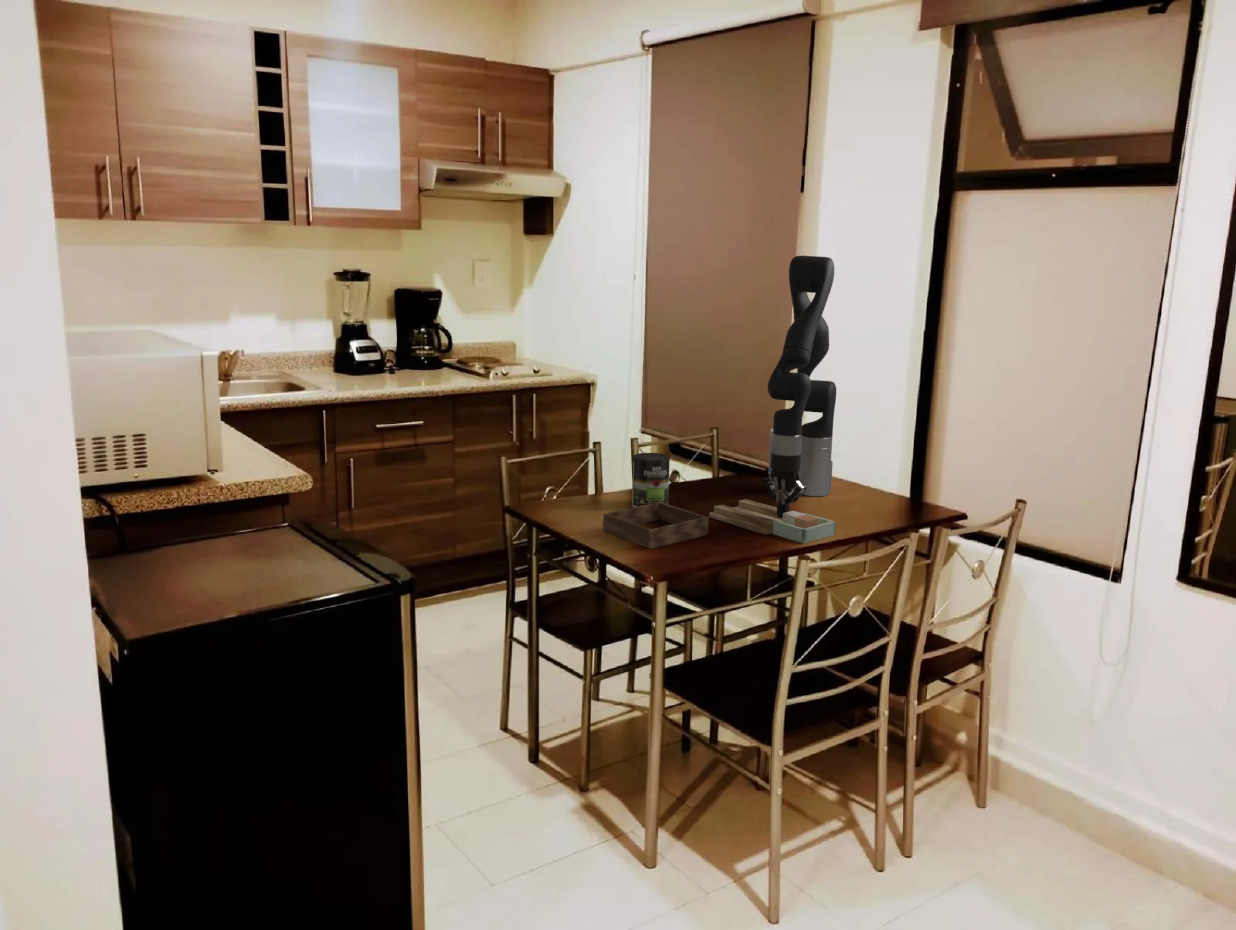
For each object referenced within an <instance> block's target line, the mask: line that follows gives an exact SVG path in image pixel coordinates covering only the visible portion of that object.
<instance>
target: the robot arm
mask: <svg viewBox="0 0 1236 930" xmlns="http://www.w3.org/2000/svg"><path fill="white" fill-rule="evenodd" d="M834 278H835V263H834V260H833V259H832V257H829V256H828V257H827V256H819V255H818V256H815V255H796V256H794V257H792V259H791V261H790V262H789V267H788V280H789V281H788V282H789V283H788V284H789V289H790V296H791V297H790V298H791V302H792V309H793V322H792V323H791V325H790V326H789V327H788V329H787V331H786V335H785V338H784V339H785V340H784V343H783V348H782V353H781V356H780V357H779V360H778V361H777V363H776V366H775V367H774V369H773V371H772V373H771V375H770V376H769V379H768V383H767V393H768V394H769V396H770V398H772V399H773V400H778V401H787V402H793V405H792V407H789V408H784V409H778V410H776V411H775V412H774V415H773V426H772V429H773V437H772V443H771V462H770V468H771V469H772V471H771V473H770V475H769V476H768V477H764V478H763V479H762V482H763V484H764V486H765V488H766V490H767V493H768V495H769V496H770V499H771V500H775V502H776V508H777V515H778V517H779V518H783V513H786V512H789V511H790V505H791V504H794V503H796V502H797V501H798V500H799V499H800V497H801V496H802V495H803V496H808V497H809V496H810V497H825V496H827V495H829V493H831V491H832V478H833V464H834V463H833V460H832V453H833V452H832V450H833V435H834V431H833V429H834V419H835V417H834V416H835V409H836V408H835V407H836V401H837V386H836V383H835V382H834V381H833V380H832V381H831V380H819V379H811V375H812V373H813V372H814V370H815V369H816V368H817V366H818V365H820V363H821V362H822V361H823V359H824V358H825V357H826V356H827V354H828V352H829V348H830V329H829V325H828V323H827V321H826V319H825V318H824V317H823V313H824V311H825V309H826V308H825V307H826V305H827V302H828V299H829V296H830V293H831V290H832V287H833V284H834V280H835V279H834ZM808 293H810V294H811V293H813V294H814V297H813V299H812V300H810V297H809V295H808ZM793 370H796V371H797V372H791V371H793ZM804 412H807V413H821V414H822V415H821V417H819V418H818V419H816V420H814V421H811V422H807V423H804V424H803V417H804Z"/></svg>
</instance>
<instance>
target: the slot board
mask: <svg viewBox="0 0 1236 930" xmlns="http://www.w3.org/2000/svg"><path fill="white" fill-rule="evenodd" d="M789 512H790V510H789ZM708 517H709V518H711V519H713V520H717V521H721V522H724V523H727V524H731V525H733V526H737V527H740V528H743V529H747V530H750V531H753V532H756V533H759V534H763V535H770V534H773V521H775V520H776V521H780V522H782V519H783V518H779V517H778V515H777V506H772V505H769V504H766V503H765V504H764V503H761V502H757V501H755V500H750V499H748V498H745V499H741V500H738V506H733V507H731V506H728V505H724V504H719V505H714V506H713V511H712V512H711V511H710V512H709V514H708Z"/></svg>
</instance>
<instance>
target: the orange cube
mask: <svg viewBox="0 0 1236 930" xmlns="http://www.w3.org/2000/svg"><path fill="white" fill-rule="evenodd" d="M816 525H818V518H814V517H811V516H807V515H804V516H800V517H796V518H795V526H797V527H800V528H803V529H805V528H809V527H813V526H816Z"/></svg>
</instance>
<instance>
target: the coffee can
mask: <svg viewBox="0 0 1236 930" xmlns="http://www.w3.org/2000/svg"><path fill="white" fill-rule="evenodd" d="M631 458H632V487H631V488H632V489H631V490H632V491H631V492H632V493H631V495H632V496H631V497H632V498H631V508H634V507H639V506H644V505H648V504H653V503H658V502H661V503H664V504H668V505H669V491H670V489H669V488H670V487H669V486H670V461H671V456H670V455H668V454H664V453H660V452H659V453H658V452H640V453H635V454H633V455H632V457H631Z"/></svg>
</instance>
